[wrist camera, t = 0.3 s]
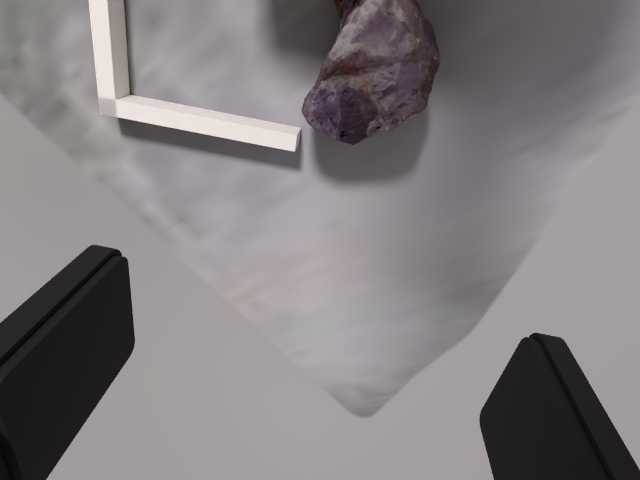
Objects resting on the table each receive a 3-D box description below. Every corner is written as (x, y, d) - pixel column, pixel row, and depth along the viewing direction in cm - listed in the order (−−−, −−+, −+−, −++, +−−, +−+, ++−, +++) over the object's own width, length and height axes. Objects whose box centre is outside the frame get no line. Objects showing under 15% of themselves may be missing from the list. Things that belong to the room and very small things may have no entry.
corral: (95, -128, 30) (74, -139, 28) (331, -84, 30) (328, -91, 28) (115, 108, 38) (99, 113, 36) (298, 143, 38) (294, 151, 36)
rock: (297, 88, 37) (398, 133, 38) (271, 123, 30) (394, 177, 31) (348, -62, 30) (471, -2, 31) (329, -59, 23) (486, 17, 24)
